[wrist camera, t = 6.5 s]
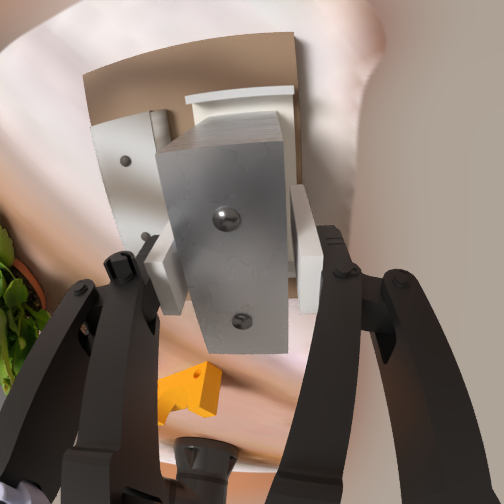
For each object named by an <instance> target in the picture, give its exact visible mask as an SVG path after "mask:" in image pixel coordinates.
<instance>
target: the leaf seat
mask: <svg viewBox="0 0 504 504" xmlns="http://www.w3.org/2000/svg"><path fill="white" fill-rule="evenodd" d="M293 94H294V86H293V85H285V86H264V87H250V88H239V89H230V90H221V91H213V92H206V93H199V94H193V95H188V96H185V101H186V104H192V108H193V115H194V122H195V125H197V124H198V123H200V122H201V121H203V120H204V119H206V118H207V117H209V116H216V115H224V114H234V113H245V112H258V111H275V110H276V112H277V117H278V121H279V125H280V129H281V133H282V138H283V146H284V165H285V186H286V213H287V248H288V278H295V277H296V273H295V264H294V254H293V245H292V237H291V224H290V189H289V185H297V179H296V150H295V128H294V109H293Z"/></svg>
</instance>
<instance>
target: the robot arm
mask: <svg viewBox="0 0 504 504" xmlns="http://www.w3.org/2000/svg"><path fill="white" fill-rule="evenodd" d="M289 189H290V224H291V237H292V245H293V254H294V264H295V273H296V283H297V293H298V304H299V314H310V313H317V317H316V322H315V327H314V332H313V337H312V342H311V347H310V352H309V356H308V361H307V365H306V370H305V374H304V378H303V382H302V386H301V391H300V395H299V399H298V402H297V406H296V410H295V414H294V418H293V421H292V425H291V429H290V432H289V436H288V439H287V443H286V446H285V449H284V453H283V456H282V459H281V462H280V465H279V468H278V471H277V473H276V475H275V477H274V480H273V482H272V485H271V488H270V491H269V493H268V496H267V499H266V502H265V504H340V502H341V497H342V492H343V482H342V476H343V470H344V465H345V460H346V454H347V449H348V444H349V438H350V432H351V425H352V418H353V410H354V404H355V403H354V402H355V395H356V386H357V376H358V365H359V352H360V335H361V330H364V331H369V332H370V335H371V339H372V342H373V346H374V350H375V354H376V358H377V362H378V366H379V370H380V374H381V378H382V383H383V387H384V392H385V396H386V401H387V406H388V410H389V416H390V421H391V426H392V432H393V438H394V443H395V450H396V457H397V464H398V471H399V479H400V488H401V498H402V504H501V503H500V501H499V500H498V498H497V496H496V494H495V493H494V491H493V489H492V485H491V479H490V473H489V468H488V464H487V458H486V454H485V449H484V445H483V441H482V438H481V433H480V430H479V426H478V423H477V419H476V416H475V413H474V409H473V406H472V403H471V400H470V397H469V394H468V391H467V389H466V386H465V383H464V381H463V378H462V375H461V372H460V370H459V367H458V365H457V362H456V360H455V357H454V355H453V352H452V350H451V348H450V346H449V343H448V341H447V339H446V336H445V334H444V332H443V330H442V328H441V325H440V323H439V321H438V319H437V317H436V315H435V313H434V311H433V309H432V307H431V305H430V303H429V301H428V299H427V297H426V295H425V293H424V291H423V289H422V288H421V286H420V284H419V282H418V280H417V279H416V278H415V276H414V275H412V274H411V273H409V272H408V271H405V270H402V269H393V270H389V271H387V272H386V273H385V274H384V277H383V278H377V277H372V276H368V275H365V274H363V273H362V272H361V269H360V268H359V267H358V266H357V265H356V264H354V263H353V262H352V261H351V258H350V255H349V253H348V250H347V247H346V245H345V242H344V240H343V237H342V235H341V232H340V230H338V229H337V228H336V227H335V226H334V225H327V226H315V222H314V219H313V215H312V211H311V208H310V204H309V201H308V198H307V194H306V191H305V187H304V184H298V185H289ZM103 264H104V266H105V269H106V271H107V273H108V276H109V278H110V280H111V281H110V284H109V285H105V286H100V287H96V286H95V284H94V282H93V281H92V280H90V279H84V280H80V281H78V282H76V283H75V284H74V285H72V287H71V288H70V289H69V290H68V292H67V293H66V294H65V296H64V297H63V299H62V300H61V302H60V303H59V305H58V306H57V308H56V309H55V311H54V313H53V314H52V316H51V317H50V319H49V320H48V322H47V324H46V325H45V327H44V328H43V330H42V332H41V333H40V335H39V337H38V338H37V340H36V342H35V344H34V345H33V347H32V349H31V351H30V352H29V354H28V356H27V358H26V360H25V361H24V363H23V365H22V367H21V369H20V371H19V373H18V375H17V377H16V379H15V381H14V383H13V385H12V387H11V389H10V391H9V393H8V395H7V398H6V400H5V402H4V404H3V406H2V409H1V411H0V504H52V502H53V500H54V499H55V497H56V496H57V493H58V491H59V489H60V487H61V504H226V496H227V485H228V478H229V475H230V474H231V472H232V469H233V467H234V465H235V463H236V461H237V459H238V451H239V450H238V449H237V448H236V447H234V446H232V445H229V444H226V443H223V442H219V441H214V440H209V439H203V438H193V437H182V438H177V439H176V440H175V443H174V454H175V459H176V465H177V475H176V480H174V479H170V478H166V477H162V475H161V471H160V460H159V441H158V349H159V329H160V320H159V317H158V314H157V311H158V309H159V306H160V307H161V309H162V312H163V314H164V315H181V312H182V309H183V306H184V303H185V300H186V297H187V294H188V291H189V290H188V287H187V283H186V280H185V277H184V273H183V270H182V266H181V262H180V259H179V255H178V251H177V248H176V244H175V240H174V236H173V233H172V229H171V225H170V221H168V223H167V224H166V226H165V228H164V229H163V231H162V232H161V234H160V235H153V236H152V237H150V238H149V239H148V240H147V241H146V242H145V243H144V245H143V246H142V249H140V251H139V254H137V256H136V257H135V256H134V254H133V253H132V252H130V251H120V252H117V253H115V254H113V255H111V256H110V257H108V258H107V259H106V260H105V262H104V263H103ZM82 324H84V325H85V327H86V328H87V331H86V332H85V334H83V332H82V331H81V329H80V328H81V326H82ZM77 433H78V439H77V443H76V445H75V446H74V447H73V445H74V442H75V439H76V436H77Z"/></svg>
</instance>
